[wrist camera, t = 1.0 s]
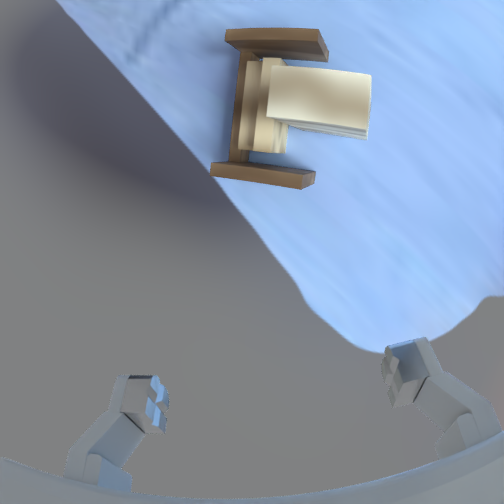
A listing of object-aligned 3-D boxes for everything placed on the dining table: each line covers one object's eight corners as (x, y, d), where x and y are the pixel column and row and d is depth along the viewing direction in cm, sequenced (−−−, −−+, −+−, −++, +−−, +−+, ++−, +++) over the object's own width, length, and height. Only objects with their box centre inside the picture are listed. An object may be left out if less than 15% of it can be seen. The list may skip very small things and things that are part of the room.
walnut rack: (250, 48, 36) (224, 29, 29) (328, 52, 33) (318, 29, 26) (236, 171, 42) (208, 175, 35) (314, 183, 39) (301, 189, 32)
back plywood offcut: (261, 70, 37) (247, 61, 32) (275, 71, 36) (263, 61, 32) (252, 149, 41) (237, 148, 36) (267, 150, 40) (253, 150, 36)
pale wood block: (307, 96, 36) (271, 65, 23) (370, 105, 34) (371, 75, 20) (303, 130, 37) (266, 116, 24) (366, 140, 35) (366, 129, 22)
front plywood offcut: (279, 71, 36) (263, 57, 30) (294, 72, 36) (280, 58, 30) (270, 151, 40) (252, 150, 34) (285, 153, 39) (270, 152, 33)
